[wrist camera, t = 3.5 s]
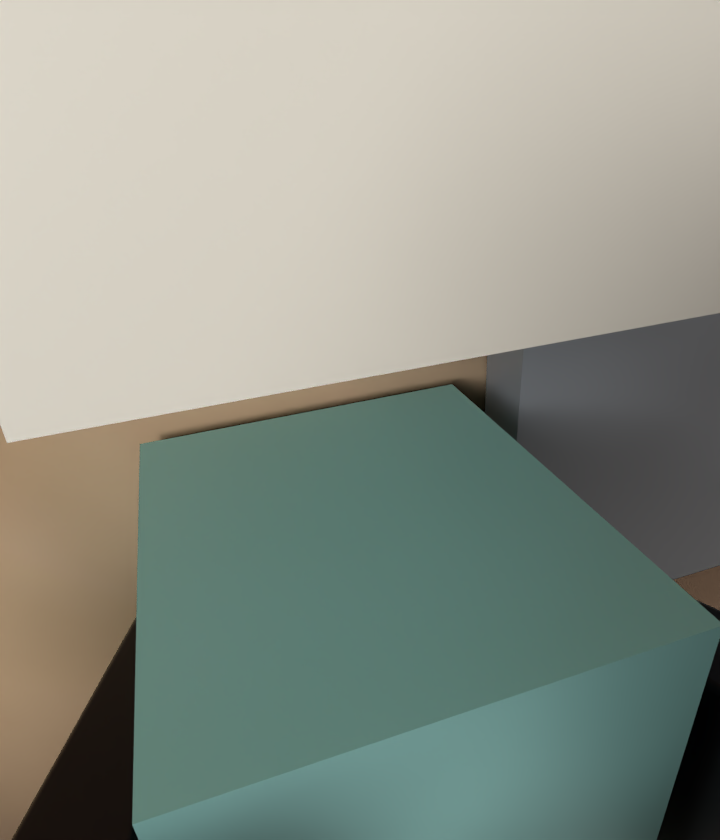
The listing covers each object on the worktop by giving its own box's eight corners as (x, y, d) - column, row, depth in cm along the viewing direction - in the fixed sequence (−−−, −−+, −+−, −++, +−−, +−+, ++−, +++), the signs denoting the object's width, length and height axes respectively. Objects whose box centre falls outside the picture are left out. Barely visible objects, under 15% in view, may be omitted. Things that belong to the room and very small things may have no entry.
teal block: (201, 676, 10) (242, 1089, 6) (140, 444, 8) (133, 824, 4) (448, 605, 11) (635, 909, 7) (452, 384, 9) (724, 624, 5)
